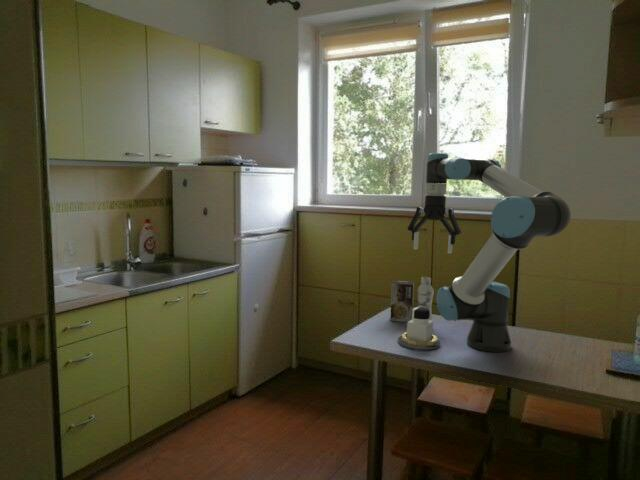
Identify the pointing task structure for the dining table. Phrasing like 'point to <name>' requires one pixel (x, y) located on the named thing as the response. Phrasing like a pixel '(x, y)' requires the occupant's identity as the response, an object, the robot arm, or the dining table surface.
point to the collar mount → (419, 343)
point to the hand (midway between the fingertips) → (432, 251)
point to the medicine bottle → (420, 325)
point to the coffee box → (402, 301)
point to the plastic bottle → (425, 294)
